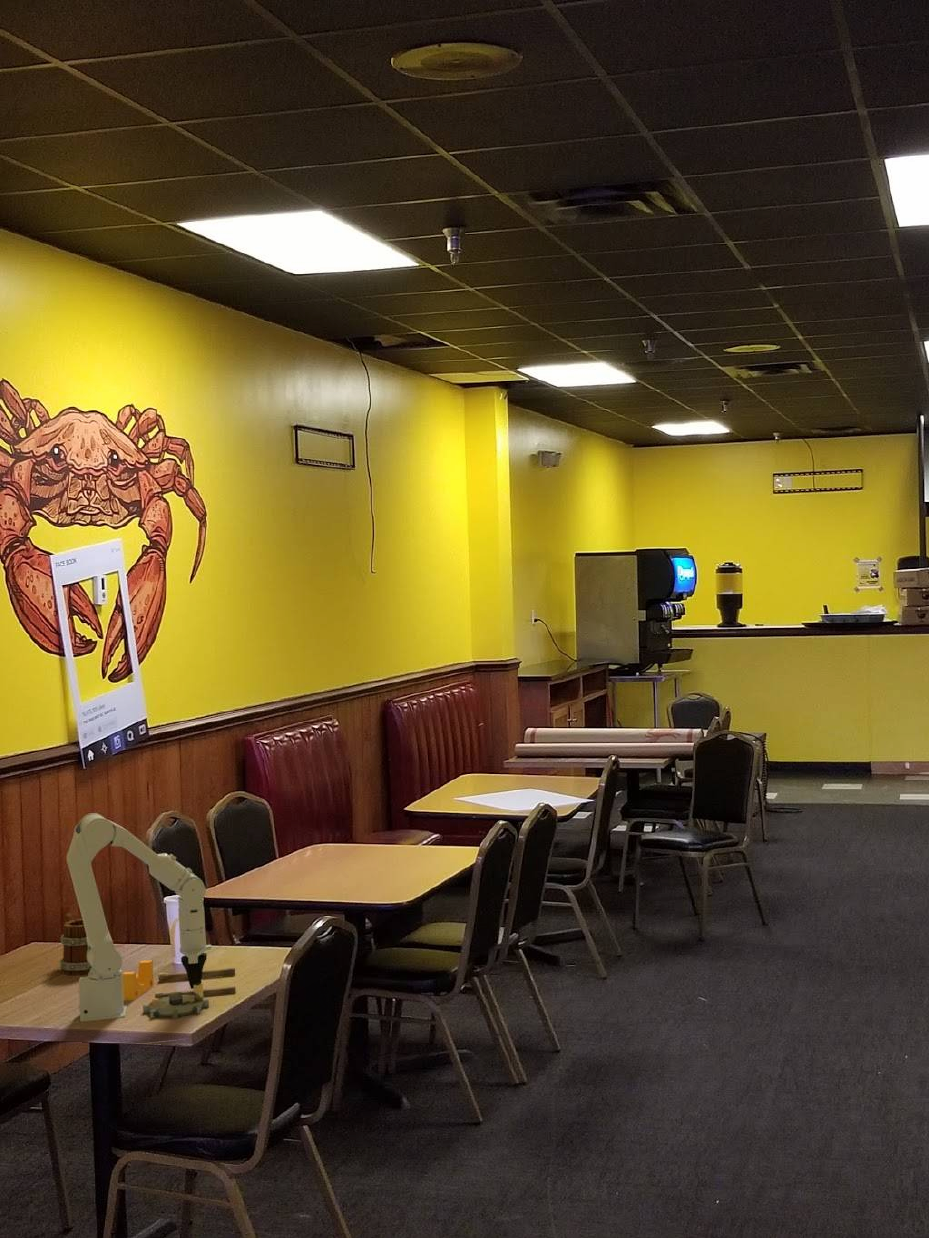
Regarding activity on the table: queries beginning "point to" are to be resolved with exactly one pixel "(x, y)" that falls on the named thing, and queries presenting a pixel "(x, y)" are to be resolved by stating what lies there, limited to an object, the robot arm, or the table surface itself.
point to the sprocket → (177, 1004)
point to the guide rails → (205, 974)
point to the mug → (74, 947)
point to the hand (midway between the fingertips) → (195, 987)
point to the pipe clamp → (138, 980)
